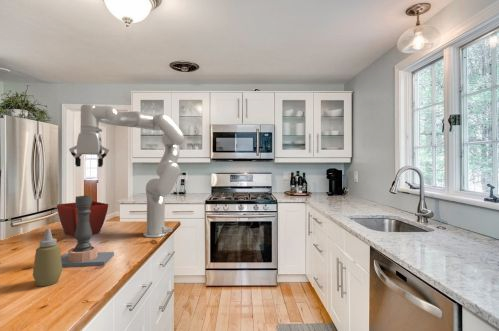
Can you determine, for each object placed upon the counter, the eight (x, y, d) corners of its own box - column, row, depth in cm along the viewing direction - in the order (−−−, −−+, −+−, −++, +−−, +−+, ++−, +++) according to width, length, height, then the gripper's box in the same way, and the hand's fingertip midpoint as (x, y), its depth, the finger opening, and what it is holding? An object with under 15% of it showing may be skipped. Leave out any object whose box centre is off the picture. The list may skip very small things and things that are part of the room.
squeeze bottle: (43, 277, 96) (43, 226, 96) (67, 277, 97) (67, 226, 97) (26, 288, 88) (26, 232, 88) (52, 288, 89) (53, 232, 89)
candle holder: (84, 260, 109) (84, 197, 109) (70, 259, 110) (71, 197, 110) (95, 255, 115) (96, 195, 115) (82, 254, 116) (83, 195, 116)
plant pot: (109, 233, 157) (109, 203, 157) (73, 240, 141) (73, 208, 141) (91, 228, 167) (91, 200, 167) (55, 235, 151) (55, 204, 151)
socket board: (113, 255, 120) (114, 243, 120) (104, 265, 108) (104, 252, 108) (63, 257, 117) (63, 245, 117) (47, 267, 105) (48, 254, 105)
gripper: (111, 132, 137) (111, 166, 137) (73, 131, 134) (73, 166, 134) (106, 130, 130) (105, 167, 130) (65, 129, 127) (65, 166, 127)
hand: (89, 166), depth 132 cm, fingers open, 9 cm apart
